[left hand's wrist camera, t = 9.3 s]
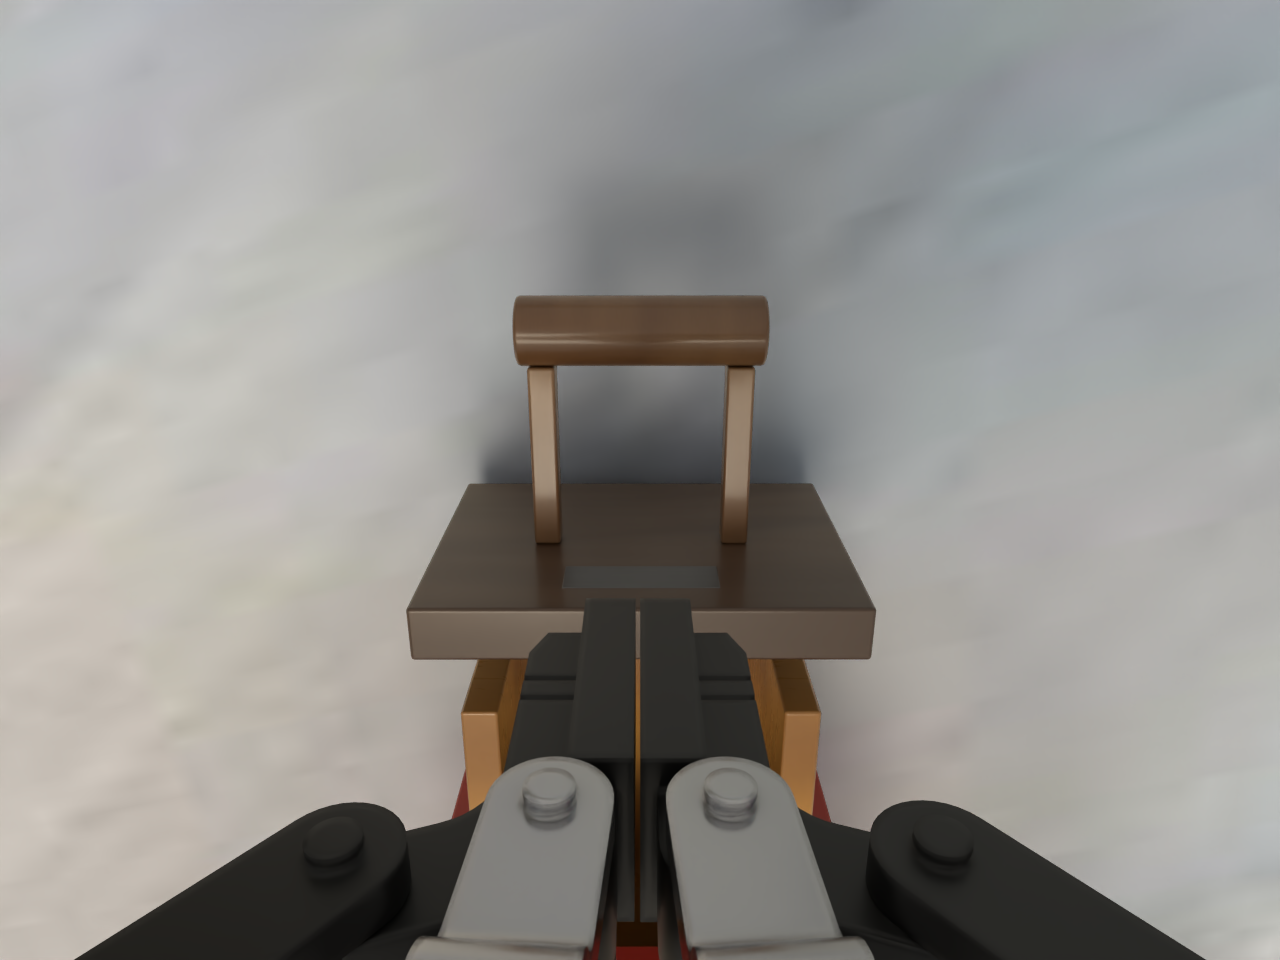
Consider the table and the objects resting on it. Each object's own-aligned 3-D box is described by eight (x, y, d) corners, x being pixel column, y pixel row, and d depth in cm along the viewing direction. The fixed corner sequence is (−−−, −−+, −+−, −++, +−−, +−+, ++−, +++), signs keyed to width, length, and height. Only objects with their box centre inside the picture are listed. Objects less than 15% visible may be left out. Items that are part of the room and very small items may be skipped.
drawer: (452, 272, 22) (374, 327, 15) (829, 272, 22) (908, 326, 15) (506, 991, 31) (471, 1218, 24) (774, 991, 31) (810, 1217, 24)
